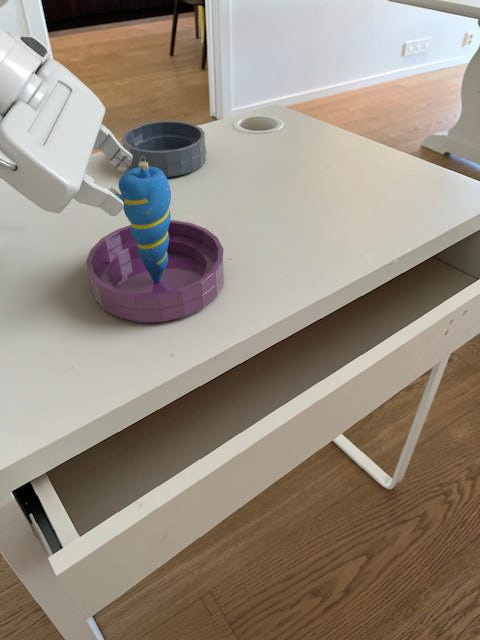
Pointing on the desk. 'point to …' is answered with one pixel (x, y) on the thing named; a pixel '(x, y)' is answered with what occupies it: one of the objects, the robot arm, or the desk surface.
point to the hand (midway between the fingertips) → (125, 185)
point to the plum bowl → (176, 282)
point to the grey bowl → (167, 146)
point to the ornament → (148, 214)
